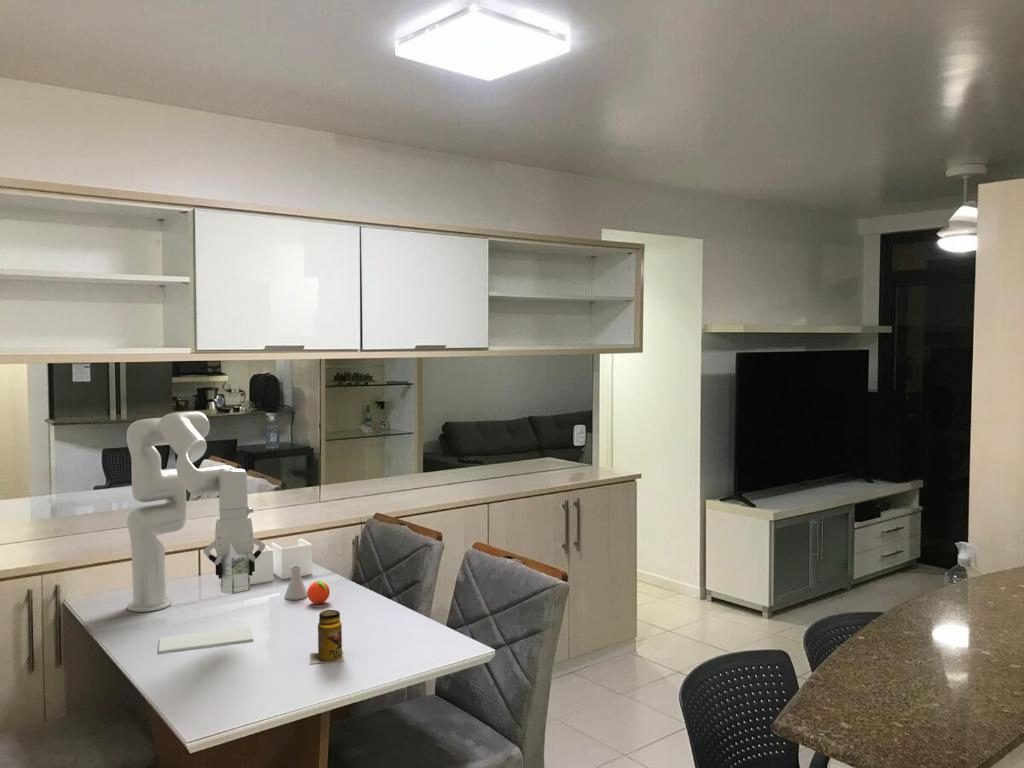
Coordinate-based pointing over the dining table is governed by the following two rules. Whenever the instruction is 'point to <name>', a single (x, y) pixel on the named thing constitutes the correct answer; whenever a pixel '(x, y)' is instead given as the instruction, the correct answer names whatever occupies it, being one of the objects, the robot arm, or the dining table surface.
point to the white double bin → (282, 562)
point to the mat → (205, 639)
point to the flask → (296, 585)
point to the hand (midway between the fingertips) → (235, 575)
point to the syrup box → (235, 572)
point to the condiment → (328, 638)
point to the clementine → (318, 592)
